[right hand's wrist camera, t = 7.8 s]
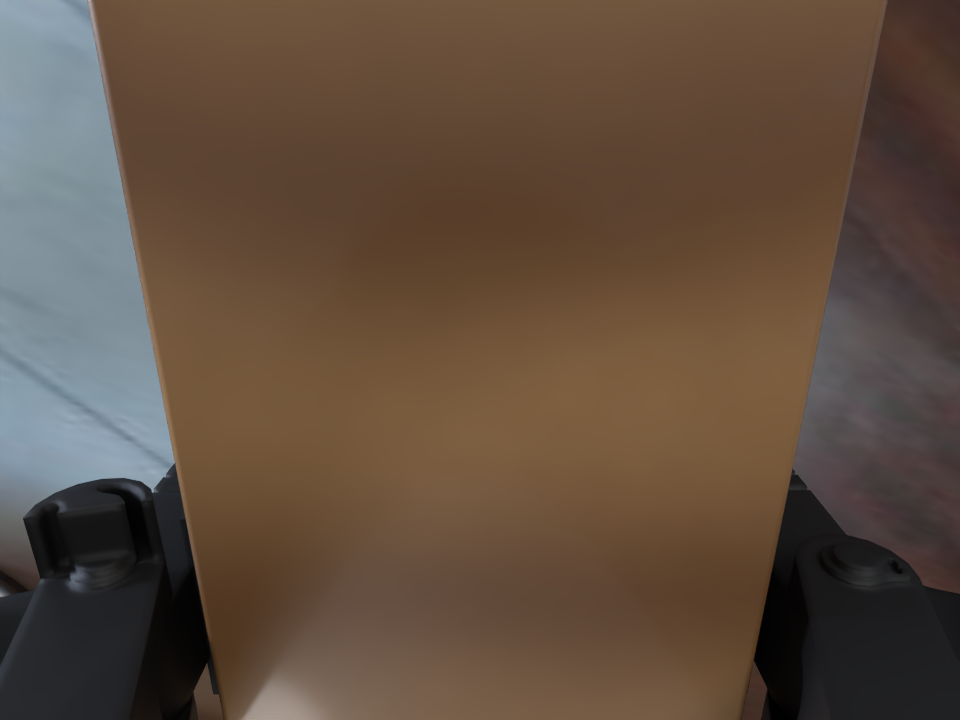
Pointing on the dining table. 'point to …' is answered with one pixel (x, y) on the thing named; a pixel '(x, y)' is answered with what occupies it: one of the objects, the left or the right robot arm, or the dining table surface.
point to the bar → (485, 334)
